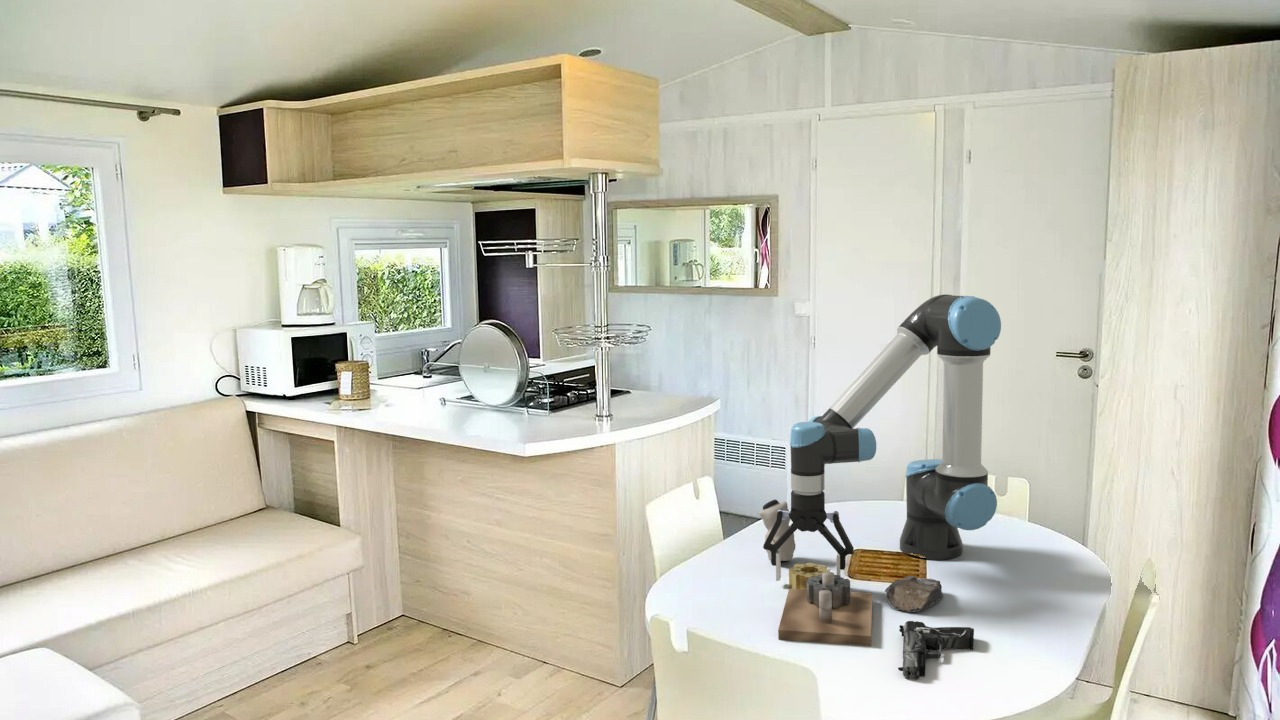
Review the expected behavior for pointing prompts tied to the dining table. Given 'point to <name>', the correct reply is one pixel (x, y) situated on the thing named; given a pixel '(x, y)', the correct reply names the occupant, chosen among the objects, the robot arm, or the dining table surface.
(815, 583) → the grey gear
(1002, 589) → the dining table surface
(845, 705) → the dining table surface
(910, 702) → the dining table surface
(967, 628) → the handgun
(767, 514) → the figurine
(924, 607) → the rock
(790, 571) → the brass gear
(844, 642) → the board
